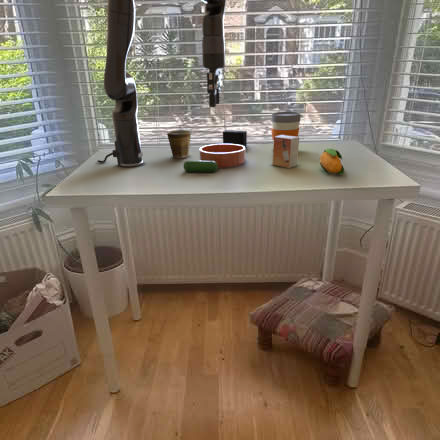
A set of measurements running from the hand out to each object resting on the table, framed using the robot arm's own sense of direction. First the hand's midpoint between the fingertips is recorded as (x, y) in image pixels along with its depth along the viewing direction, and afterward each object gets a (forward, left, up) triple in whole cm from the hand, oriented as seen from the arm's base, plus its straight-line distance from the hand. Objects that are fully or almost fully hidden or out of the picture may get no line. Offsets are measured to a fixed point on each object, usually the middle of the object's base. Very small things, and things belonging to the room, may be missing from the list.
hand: (214, 105), depth 141 cm
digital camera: (+2, +42, -22) cm, 47 cm away
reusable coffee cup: (+25, +33, -22) cm, 47 cm away
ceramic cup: (-20, +21, -22) cm, 37 cm away
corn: (+43, -4, -22) cm, 48 cm away
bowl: (+1, +10, -22) cm, 24 cm away
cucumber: (-5, -5, -22) cm, 23 cm away
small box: (+26, +6, -22) cm, 35 cm away
